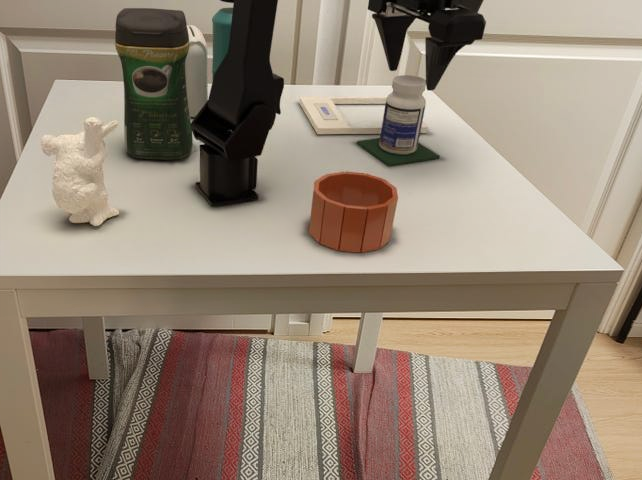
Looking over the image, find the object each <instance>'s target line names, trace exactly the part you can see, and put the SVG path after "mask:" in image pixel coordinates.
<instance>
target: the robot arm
mask: <svg viewBox="0 0 642 480" xmlns="http://www.w3.org/2000/svg"><path fill="white" fill-rule="evenodd" d="M278 3H279V0H234V3H232V4H233V5H232V8H233V13H232V22H231V30H230V39H229V48H228V52H227V54H226V56H225V57H224V59H223V61H222V62H221V64H220V65H219V67H218V69H217V70H216V72H215V74H214V78H213V77H212V78H213V79H212V81H211V86H210V91H209V94H208V101H207V102H206V103H205V105H204V106H203V107H202V109H201V110H200V111H199V113H198V114H197V115H196V117H193V120H191V124H190V127H191V130H192V136H193V138H194V139H195V140H197V141H200V142H201V144H199V181H197V182H195V184H194V185H195V188H196V189H197V190H198V192H199V193H200V194H201V195H202V196H203V198H204V199H205V200H206V201H207V203H209V205H210V206H212V207H219V206H225V205H233V204H238V203H243V202H249V201H257V200H258V199H259V194H258V192H256V189H257V185H258V165H259V159H258V158H257V157H259V156H261V155H262V154H263V150H264V148H265V145H266V141H267V138H268V136H269V132H270V131H271V130H272V129H273V127H274V125H275V121H276V118H277V115H281V114H282V110H281V100H282V99H281V98H282V95H283V91H284V89H285V79H284V77H282V76H281V75H279V74H276V73H274V72H273V69H272V65H271V64H272V63H271V51H272V45H273V37H274V32H275V31H274V30H275V25H276V17H277V12H278V11H277V10H278ZM483 3H484V0H368V4H367V10H368V11H370V12H372V15H371V18H372V19H373V20H374V22H375V25H376V28H377V32H378V34H379V38H380V40H381V45H382V48H383V51H384V55H385V59H386V62H387V67H388V70H389V71H390V72H396V71H397V70H398V68H399V65H400V61H401V58H402V53H403V49H404V44H405V40H406V37H407V33H408V30H409V29H410V26H411V25H412V24H414V21H415V20H416V19H418V20H419V21H422V22H425V23H428V27H427V28H428V32H429V35H430V36H426V37H425V41H424V43H425V45H424V46H425V47H424V49H425V50H424V51H425V52H424V53H425V80H426V90H427V91H434V90H436V89H437V87H438V85H439V83H440V81H441V79H442V78H443V75H444V74H445V72H446V70H447V68H448V67H449V65H450V64H451V62H452V61H453V59H454V57H455V56H456V54H457V53H458V52H459V51H460V50H462V49H463V48H464V47H465V46H471V45H473V43H474V42H475V41H481V40H483V37H484V34H485V29H486V25H487V20H486V19H485V17H484V15H483V14H481V13H479V11H480V9H481V7H482V5H483Z"/></svg>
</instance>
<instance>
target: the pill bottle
mask: <svg viewBox="0 0 642 480" xmlns="http://www.w3.org/2000/svg"><path fill="white" fill-rule="evenodd" d="M391 89H392V92H389V94H388V95H387V96H386V97H387V99H386V104H384V111H383V118H382V122H381V126H382V129H381V134H379V135H380V136H379V138H380V142H379V145H380V147H381V149H383V150H384V151H386V152H388V153H391V154H397V155H406V154H411V153H413V152H415V151H416V149H417V146H418V143H419V141H420V136H421V133H420V131H421V126H422V121H423V119H424V117H425V110H426V105H427V102H426V101H427V100H426V97H424V95H423V93H424V92H425V91H426V89H427V87H426V78H423V77H420V76H416V75H411V74H401V75H397V76H394V77H393V78H392V83H391ZM423 122H424V121H423Z"/></svg>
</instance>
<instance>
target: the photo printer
mask: <svg viewBox="0 0 642 480" xmlns="http://www.w3.org/2000/svg"><path fill="white" fill-rule="evenodd" d="M187 29H188V35H189V51H188V54H187V57H186V61H185V77H186V91H187V99H188V107H189V114H190V118H195V117H196V115H197V114H198V113H199V111H200V110H201V109H202V107H203V106H204V105H205V103H206V102H207V101H208V99H209V94H208V93H209V91H208V45H207V42H206V39H205V37H204V34H203V33H202V31H201V30H200V29H199V28H198V27H197V26H195V25H194V24H190V25H187Z"/></svg>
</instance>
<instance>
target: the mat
mask: <svg viewBox="0 0 642 480" xmlns="http://www.w3.org/2000/svg"><path fill="white" fill-rule="evenodd" d="M379 142H380V137H378V138H377V137H376V138H369V139H363V140H357V141H356V145H358V146H359V147H361V148H362V149H363V150H365V151H366V152H367V153H369V154H371V155H372V156H374V157H375V158H376V159H378V160H379V161H380V162H382V163H383V164H385V165H386V166H388V167H392V166H393V167H394V166H400V165H406V164H414V163H419V162H425V161H431V160H439V159H441V156H440V155H439V154H438V153H436V152H434V151H433V150H431V149H429V148H428V147H426V146H425V145H423V144H422V143H420V142H418V146H417V149H416V151H415V152H413V153H411V154H406V155H397V154H391V153H388V152H386V151H384V150H383V149H381V147H380V145H379Z"/></svg>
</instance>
